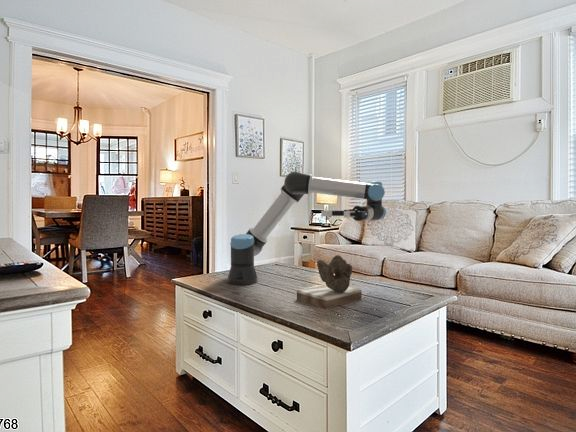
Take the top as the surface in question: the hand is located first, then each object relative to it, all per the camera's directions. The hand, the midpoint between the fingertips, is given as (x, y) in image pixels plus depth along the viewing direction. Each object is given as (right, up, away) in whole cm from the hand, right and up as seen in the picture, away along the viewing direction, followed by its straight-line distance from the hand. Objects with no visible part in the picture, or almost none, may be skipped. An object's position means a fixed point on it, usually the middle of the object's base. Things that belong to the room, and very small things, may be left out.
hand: (332, 214), depth 165 cm
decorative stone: (-1, -32, -15) cm, 35 cm away
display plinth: (-3, -36, -13) cm, 38 cm away
